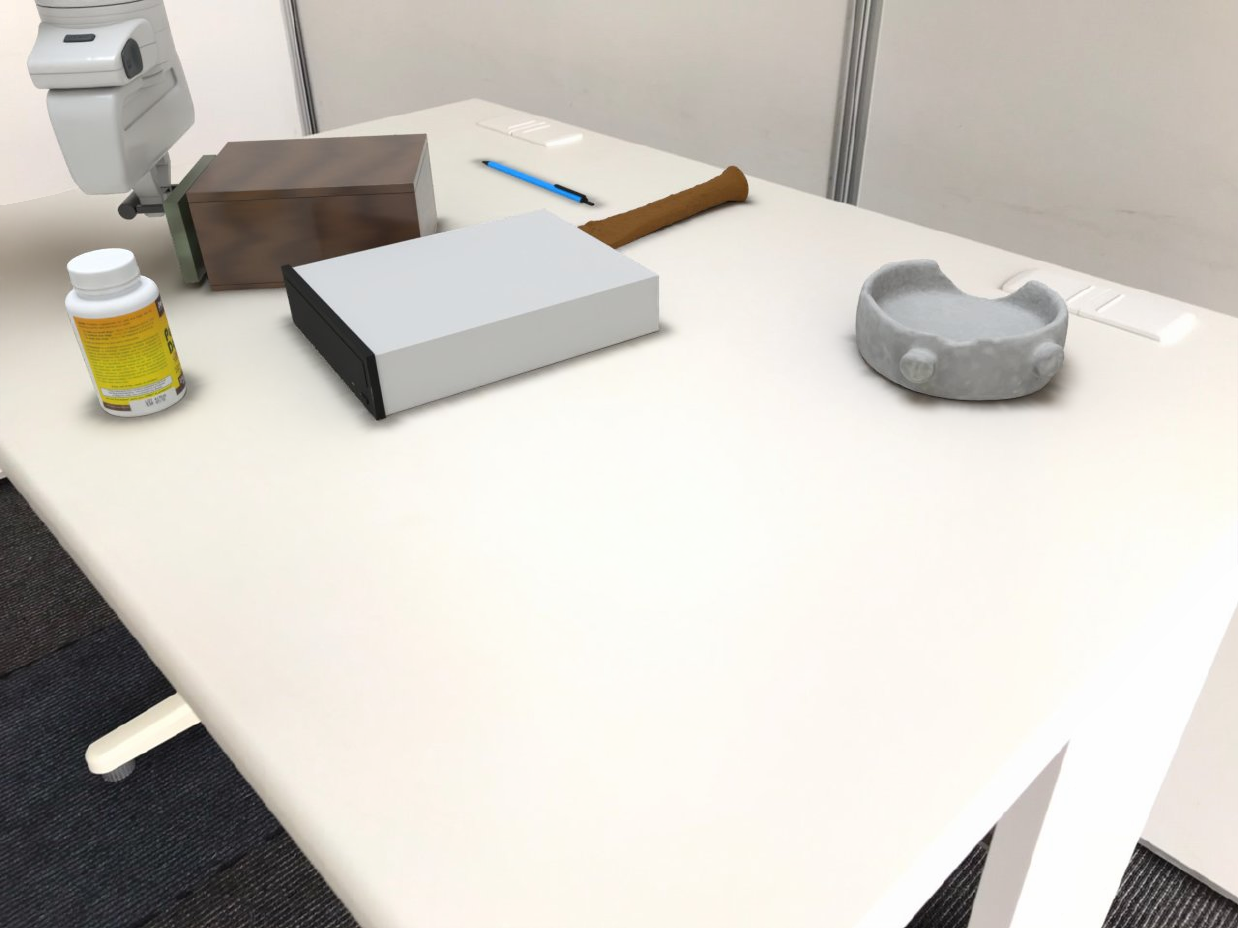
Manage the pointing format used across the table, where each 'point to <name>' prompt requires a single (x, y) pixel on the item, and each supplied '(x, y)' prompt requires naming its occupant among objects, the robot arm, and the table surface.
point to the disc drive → (468, 307)
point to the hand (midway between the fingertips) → (160, 211)
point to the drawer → (177, 221)
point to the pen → (541, 183)
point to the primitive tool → (669, 209)
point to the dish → (959, 334)
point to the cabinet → (308, 203)
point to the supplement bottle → (123, 334)
